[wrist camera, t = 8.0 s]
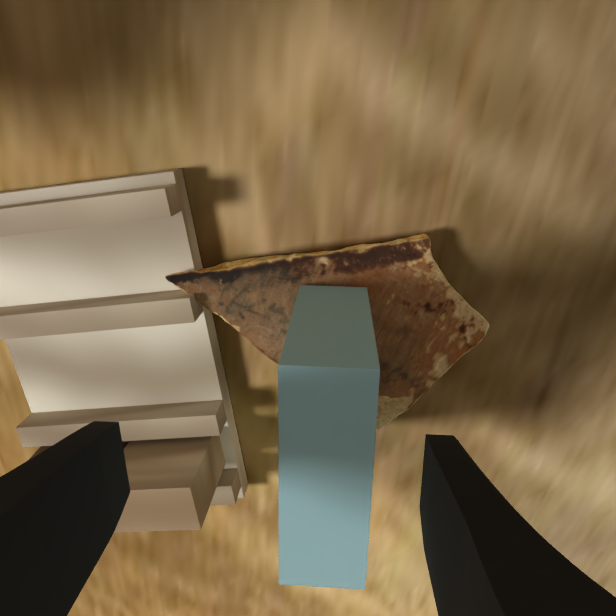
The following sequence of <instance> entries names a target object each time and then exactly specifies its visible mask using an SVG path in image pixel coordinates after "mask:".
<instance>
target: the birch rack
mask: <svg viewBox="0 0 616 616" xmlns="http://www.w3.org/2000/svg"><path fill="white" fill-rule="evenodd" d="M199 269H203V267H202V262H201V257H200V253H199V248H198V243H197V238H196V234H195V229H194V224H193V219H192V214H191V210H190V205H189V200H188V195H187V191H186V186H185V181H184V176H183V172H182V168H180V169H172V170H165V171H157V172H149V173H142V174H134V175H126V176H119V177H111V178H103V179H96V180H88V181H80V182H73V183H65V184H57V185H50V186H42V187H34V188H27V189H19V190H11V191H4V192H0V340H4V339H5V341H6V344H7V347H8V349H9V352H10V355H11V358H12V360H13V363H14V366H15V368H16V371H17V374H18V377H19V379H20V382H21V385H22V388H23V390H24V393H25V396H26V398H27V401H28V404H29V407H30V409H31V412H32V413H31V414H30V415H29V416H28V417H27V418H26V419H25V420H24V421H23V422H22V423H20V424H19V425H18V426H17V427H16V430H17V433H18V435H19V438H20V441H21V443H22V446H23V447H36V446H53V445H54V444H56V443H57V442H59V441H61V440H62V439H64V438H65V437H67V436H69V435H70V434H72V433H74V432H75V431H77V430H79V429H80V428H82V427H84V426H86V425H88V424H90V423H92V422H93V421H106V422H119V426H120V432H121V438H122V441H137V440H154V439H171V438H188V437H204V436H220V441H221V445H222V450H223V454H224V459H225V466H224V469H223V471H222V474H221V477H220V479H219V482H218V485H217V488H216V490H215V493H214V496H213V498H212V501H211V504H210V505H229V504H236V501H237V498H244V496H245V492H246V489H247V485H248V481H247V476H246V472H245V467H244V462H243V457H242V453H241V448H240V443H239V438H238V433H237V429H236V424H235V419H234V414H233V410H232V405H231V400H230V395H229V391H228V386H227V381H226V376H225V372H224V367H223V362H222V357H221V353H220V348H219V343H218V338H217V334H216V329H215V324H214V319H213V314H212V312H211V311H210V310H208V309H206V308H205V307H203V306H201V305H200V304H199V303H198V302H197V301H196V300H195V297H194V293H189V294H187V293H186V292H184V291H183V290H181V289H180V288H178V287H177V286H175V285H174V284H173V283H171V282H169V281H168V280H167V279H165V276H167V275H170V274H173V273H178V272H185V271H191V270H194V271H198V270H199Z"/></svg>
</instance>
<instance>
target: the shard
mask: <svg viewBox="0 0 616 616" xmlns="http://www.w3.org/2000/svg"><path fill="white" fill-rule="evenodd" d="M165 279H167V280H168V281H169V282H171V283H173V284H174V285H175V286H177V287H178V288H180V289H181V290H183V291H184V292H186V293H187V294H189V293H194V297H195V300H196V301H197V302H198V303H199V304H200V305H201V306H203V307H205V308H206V309H208V310H210V311H211V312H213V313H214V314H216V315H219V316H220V317H221V318H222V319H223V320H224V321H225V322H227V323H229V324H230V325H231V326H232V327H233V328H235V329H236V330H237V331H238V332H240V333H241V334H242V335H243V336H244V337H245V338H246V339H248V340H249V341H251V343H252V344H253V345H254V346H255V347H256V348H257V349H258V350H259V351H260V352H261V353H263V354H264V355H265V356H267V357H268V358H270V359H271V360H272V361H274V362H275V363H277V364H279V361H280V357H281V353H282V350H283V346H284V342H285V338H286V335H287V331H288V327H289V324H290V320H291V316H292V312H293V309H294V305H295V301H296V298H297V294H298V290H299V286H300V285H311V286H342V287H367V291H368V297H369V303H370V309H371V316H372V322H373V328H374V334H375V341H376V347H377V353H378V359H379V366H380V378H379V393H378V408H377V423H376V429H380V428H381V427H383V426H385V425H387V424H388V423H390V422H391V421H392V420H393V419H394V418H396V417H397V416H398V415H400V414H402V413H403V412H405V411H407V410H408V409H409V408H410V407H411V406H413V404H414V403H415V402H416V401H417V400H418V399H419V398H420V397H421V396H422V395H423V394H424V393H425V392H427V391H428V390H429V389H430V387H431V385H432V384H433V383H434V382H435V381H437V380H438V379H439V378H440V377H441V376H442V375H443V374H444V373H445V372H447V371H448V369H449V368H450V367H451V366H452V365H453V364H454V363H455V362H456V361H457V360H458V359H459V358H460V357H462V356H463V355H464V354H466V353H467V352H469V351H470V350H471V349H472V348H474V347H475V346H476V345H477V344H478V343H480V342H481V340H482V339H483V338H484V337H485V336H486V333H487V330H488V329H489V327H490V325H489V323H488V322H487V320H486V319H485V318H484V317H483V316H482V315H481V314H480V313H479V312H477V311H476V310H475V309H473V308H472V307H471V306H470V305H469V304H468V303H467V302H466V301H465V300H464V299H463V298H462V296H461V295H460V294H459V293H457V292H456V291H455V289H454V288H453V287H452V286H451V285H450V284H449V283H448V282H447V280H446V278H445V276H444V275H443V273H442V272H441V270H440V269H439V267H438V265H437V263H436V262H435V260H434V258H433V256H432V253H431V242H430V238H429V236H428V235H427V234H425V233H424V234H420V235H415V236H411V237H407V238H402V239H396V240H394V241H389V242H385V243H375V244H360V245H355V246H351V247H346V248H343V249H339V250H336V251H321V252H312V253H301V254H296V253H294V254H291V255H274V256H266V257H261V258H246V259H240V260H236V261H230V262H224V263H221V264H218V265H217V266H214V267H209V268H203V269H199V270H198V271H194V270H191V271H185V272H178V273H173V274H170V275H167V276H165Z"/></svg>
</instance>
